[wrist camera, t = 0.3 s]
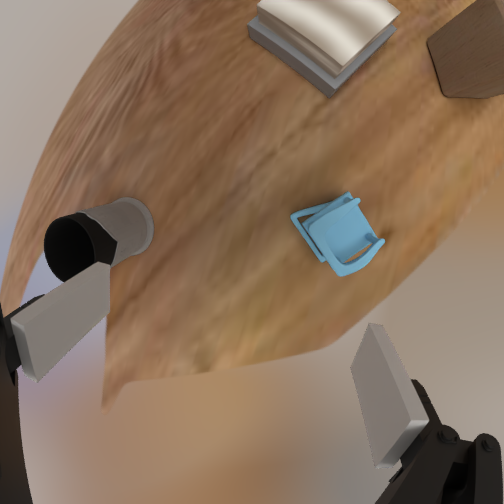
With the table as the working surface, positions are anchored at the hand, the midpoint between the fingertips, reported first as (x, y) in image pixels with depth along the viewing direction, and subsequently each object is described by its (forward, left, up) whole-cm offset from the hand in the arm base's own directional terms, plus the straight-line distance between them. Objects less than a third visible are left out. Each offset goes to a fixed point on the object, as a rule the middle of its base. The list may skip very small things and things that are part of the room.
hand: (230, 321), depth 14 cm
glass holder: (+7, -20, -28) cm, 35 cm away
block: (-31, +25, -28) cm, 49 cm away
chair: (-2, +9, -28) cm, 30 cm away
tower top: (-28, +3, -23) cm, 37 cm away
